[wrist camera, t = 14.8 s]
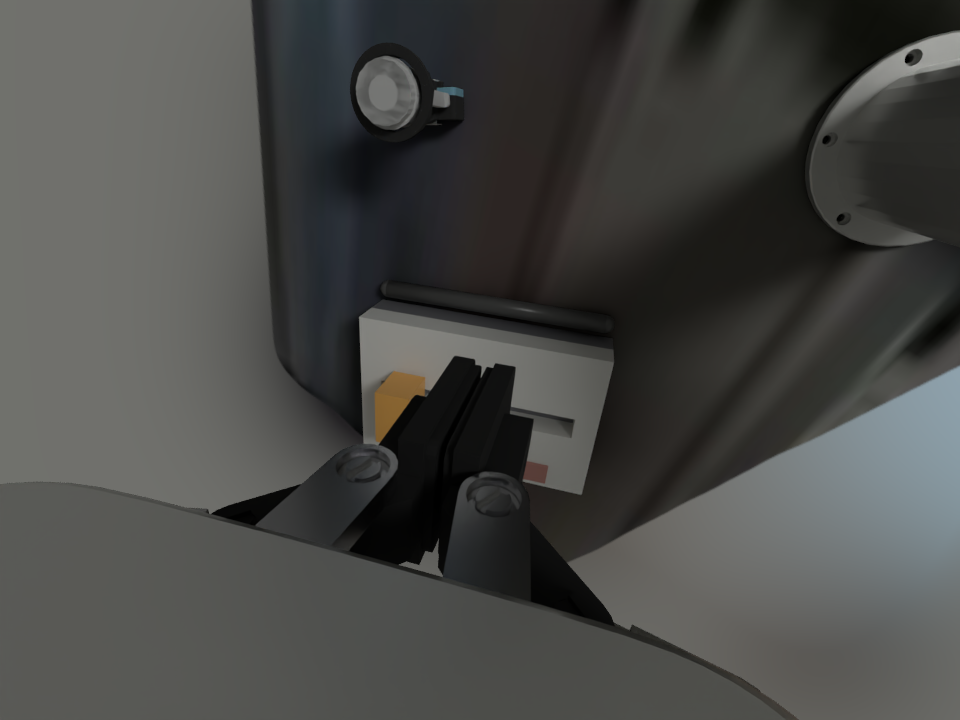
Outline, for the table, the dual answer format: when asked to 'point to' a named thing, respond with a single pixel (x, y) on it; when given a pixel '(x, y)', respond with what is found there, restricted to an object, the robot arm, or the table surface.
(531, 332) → the switch panel
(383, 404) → the lever
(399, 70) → the push button
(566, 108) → the table surface
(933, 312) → the table surface
